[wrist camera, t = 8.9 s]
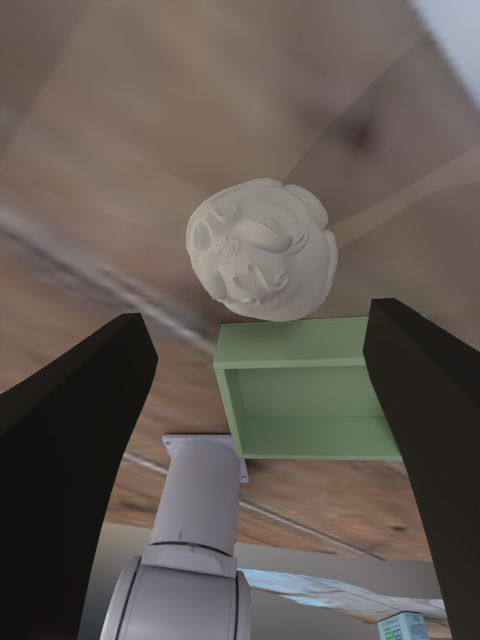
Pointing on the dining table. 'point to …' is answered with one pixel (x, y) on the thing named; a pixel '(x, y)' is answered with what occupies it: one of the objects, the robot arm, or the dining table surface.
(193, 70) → the dining table surface
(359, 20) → the dining table surface
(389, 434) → the tote
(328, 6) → the dining table surface
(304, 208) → the cream rounded lump
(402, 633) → the gum box
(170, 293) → the dining table surface
